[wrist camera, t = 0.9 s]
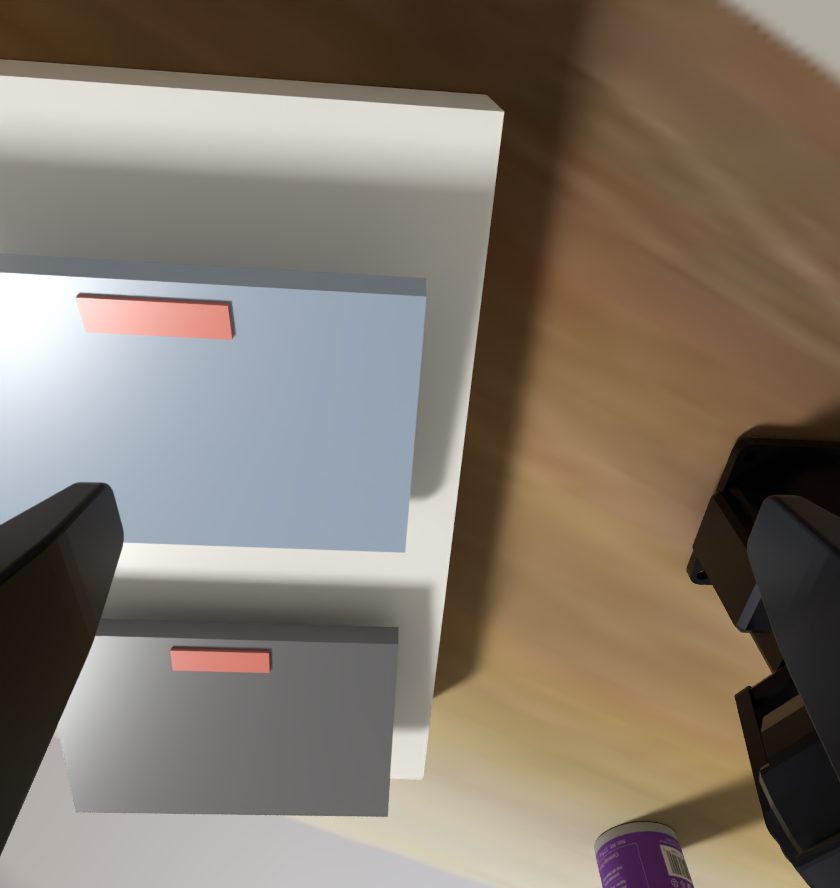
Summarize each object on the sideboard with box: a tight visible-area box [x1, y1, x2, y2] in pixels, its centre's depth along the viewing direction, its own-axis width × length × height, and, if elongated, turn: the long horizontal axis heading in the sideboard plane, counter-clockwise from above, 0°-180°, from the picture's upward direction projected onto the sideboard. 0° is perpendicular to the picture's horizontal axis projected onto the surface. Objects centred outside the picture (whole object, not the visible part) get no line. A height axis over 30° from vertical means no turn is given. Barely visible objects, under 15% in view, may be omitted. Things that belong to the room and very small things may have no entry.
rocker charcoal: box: [57, 618, 398, 817], centre depth 23 cm, size 11×8×2 cm
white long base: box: [0, 59, 504, 779], centre depth 22 cm, size 14×25×4 cm, turn 176°
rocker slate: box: [0, 254, 427, 553], centre depth 16 cm, size 11×8×2 cm
